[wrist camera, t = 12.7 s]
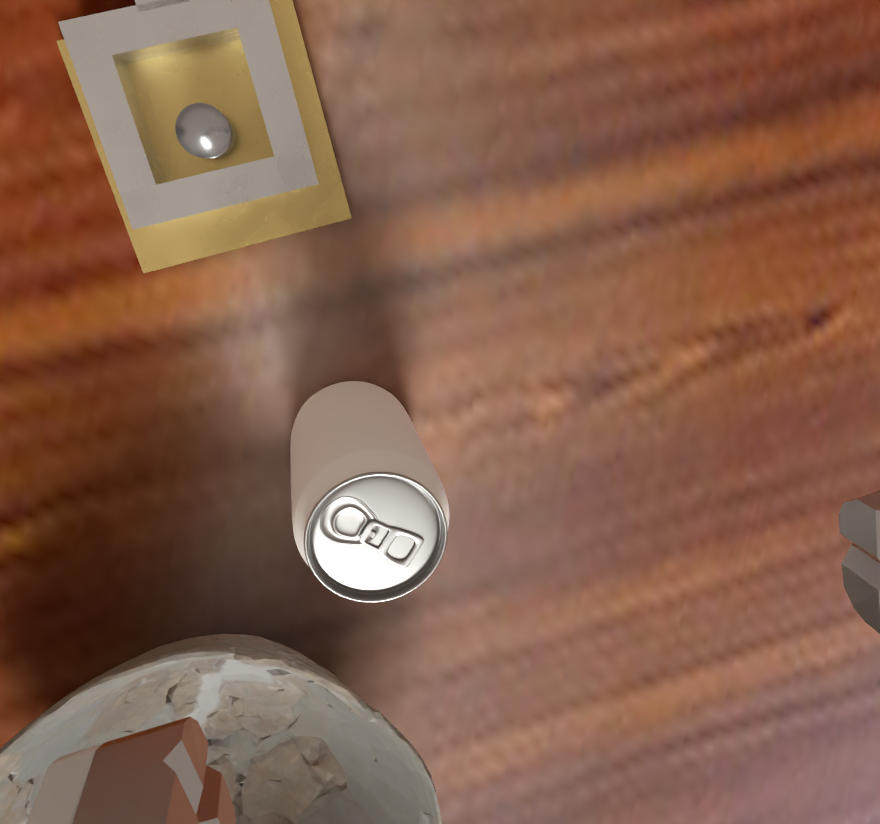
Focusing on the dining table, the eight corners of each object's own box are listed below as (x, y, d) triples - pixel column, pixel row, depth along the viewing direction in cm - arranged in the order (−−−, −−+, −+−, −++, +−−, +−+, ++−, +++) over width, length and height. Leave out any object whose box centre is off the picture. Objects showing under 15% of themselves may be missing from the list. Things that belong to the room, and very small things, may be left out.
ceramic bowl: (375, 509, 42) (400, 606, 33) (435, 822, 50) (470, 973, 41) (-47, 601, 39) (-149, 736, 30) (85, 919, 47) (36, 1106, 38)
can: (329, 356, 39) (346, 432, 28) (433, 414, 41) (489, 506, 30) (267, 459, 40) (260, 573, 29) (372, 511, 42) (404, 635, 31)
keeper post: (288, -8, 34) (289, -42, 28) (350, 217, 37) (361, 226, 32) (62, 44, 33) (17, 19, 27) (146, 270, 36) (121, 289, 31)
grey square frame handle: (21, -124, 30) (-6, -154, 27) (222, -163, 31) (216, -195, 28) (145, 224, 35) (132, 229, 32) (316, 182, 36) (318, 184, 33)
